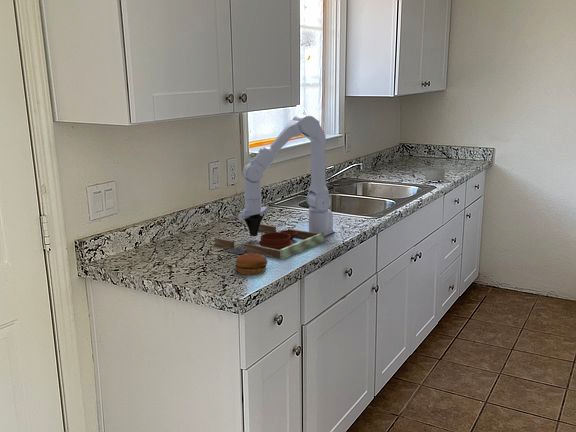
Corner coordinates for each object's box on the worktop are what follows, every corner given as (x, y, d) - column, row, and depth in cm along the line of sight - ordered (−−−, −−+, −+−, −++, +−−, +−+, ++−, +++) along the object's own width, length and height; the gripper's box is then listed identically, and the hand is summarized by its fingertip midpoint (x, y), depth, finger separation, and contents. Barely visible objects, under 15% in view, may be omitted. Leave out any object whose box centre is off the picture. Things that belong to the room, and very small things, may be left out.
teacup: (440, 184, 309) (441, 169, 307) (421, 182, 315) (422, 168, 313) (448, 180, 321) (449, 166, 319) (429, 179, 326) (430, 165, 324)
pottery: (252, 251, 191) (252, 238, 190) (277, 236, 209) (277, 224, 208) (284, 255, 186) (283, 242, 185) (307, 239, 204) (307, 228, 203)
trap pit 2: (282, 230, 217) (282, 229, 217) (295, 232, 213) (295, 231, 213) (276, 232, 213) (276, 231, 213) (289, 235, 210) (289, 234, 210)
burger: (249, 277, 165) (249, 262, 164) (228, 271, 171) (228, 256, 170) (274, 269, 172) (273, 255, 171) (253, 263, 178) (252, 249, 177)
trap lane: (259, 229, 218) (259, 222, 217) (323, 241, 202) (324, 232, 201) (214, 245, 198) (214, 236, 197) (282, 259, 182) (282, 250, 181)
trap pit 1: (232, 248, 194) (232, 247, 193) (246, 251, 190) (246, 250, 190) (224, 251, 190) (224, 250, 190) (238, 254, 187) (238, 253, 187)
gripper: (256, 193, 208) (257, 229, 211) (230, 200, 197) (231, 238, 200) (272, 195, 204) (272, 232, 207) (246, 202, 193) (247, 241, 196)
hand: (253, 235), depth 203 cm, fingers closed
